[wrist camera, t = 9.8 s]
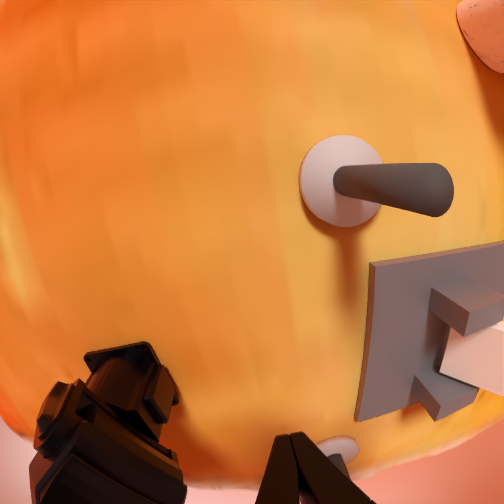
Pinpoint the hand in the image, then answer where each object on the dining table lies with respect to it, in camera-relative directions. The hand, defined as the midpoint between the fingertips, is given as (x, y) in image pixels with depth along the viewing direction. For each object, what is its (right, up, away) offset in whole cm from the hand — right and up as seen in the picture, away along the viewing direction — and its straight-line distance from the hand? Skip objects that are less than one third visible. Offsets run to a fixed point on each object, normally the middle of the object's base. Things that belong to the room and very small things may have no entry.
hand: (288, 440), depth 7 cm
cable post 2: (+5, +10, +11) cm, 16 cm away
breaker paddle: (+16, -2, +14) cm, 21 cm away
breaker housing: (+17, -2, +15) cm, 23 cm away
